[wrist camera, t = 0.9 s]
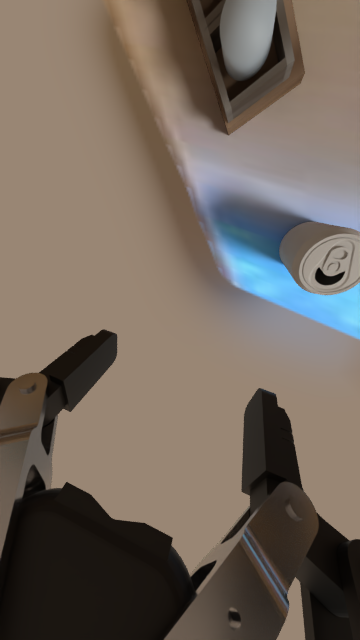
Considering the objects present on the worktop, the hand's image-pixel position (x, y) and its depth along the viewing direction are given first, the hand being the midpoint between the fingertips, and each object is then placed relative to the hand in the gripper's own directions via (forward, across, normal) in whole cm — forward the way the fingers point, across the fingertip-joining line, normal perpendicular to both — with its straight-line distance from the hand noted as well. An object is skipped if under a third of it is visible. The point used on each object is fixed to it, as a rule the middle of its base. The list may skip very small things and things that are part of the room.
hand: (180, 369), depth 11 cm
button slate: (+22, +4, -20) cm, 29 cm away
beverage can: (+26, -10, -4) cm, 28 cm away
